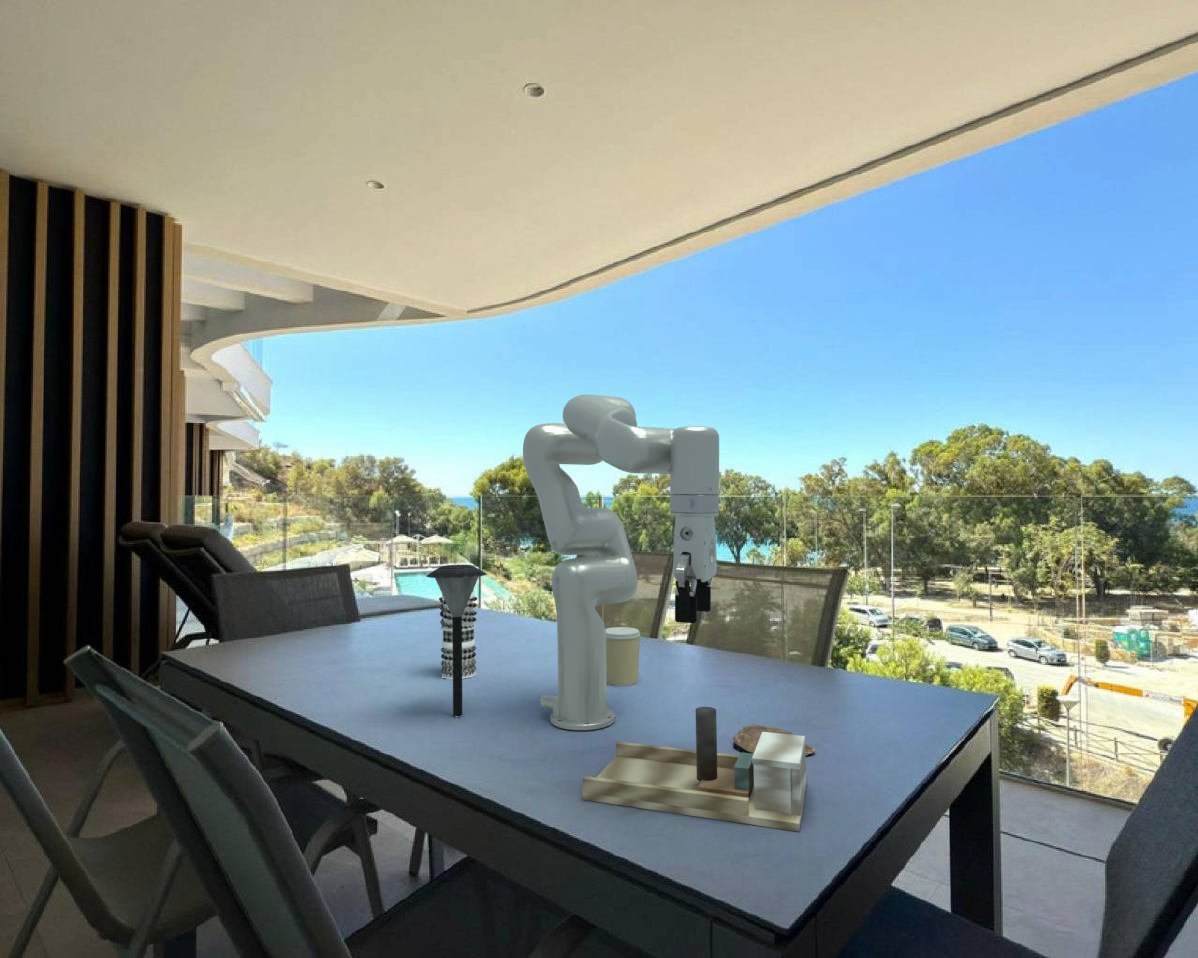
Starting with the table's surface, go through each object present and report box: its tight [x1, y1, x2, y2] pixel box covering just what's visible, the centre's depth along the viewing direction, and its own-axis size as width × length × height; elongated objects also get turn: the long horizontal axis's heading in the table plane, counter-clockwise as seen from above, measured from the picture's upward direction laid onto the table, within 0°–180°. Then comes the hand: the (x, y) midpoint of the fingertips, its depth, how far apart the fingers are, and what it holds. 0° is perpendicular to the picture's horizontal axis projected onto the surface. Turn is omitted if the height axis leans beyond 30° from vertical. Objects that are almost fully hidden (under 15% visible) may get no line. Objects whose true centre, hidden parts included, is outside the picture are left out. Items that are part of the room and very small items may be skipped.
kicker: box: [695, 706, 754, 798], centre depth 101 cm, size 8×8×11 cm
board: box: [581, 732, 808, 832], centre depth 102 cm, size 30×16×8 cm, turn 70°
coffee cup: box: [605, 626, 641, 687], centre depth 164 cm, size 9×9×12 cm
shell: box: [732, 724, 816, 758], centre depth 119 cm, size 12×13×4 cm
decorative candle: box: [438, 589, 478, 679], centre depth 171 cm, size 9×9×25 cm
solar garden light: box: [425, 564, 488, 716], centre depth 139 cm, size 12×12×30 cm
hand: (693, 616), depth 108 cm, fingers open, 9 cm apart
